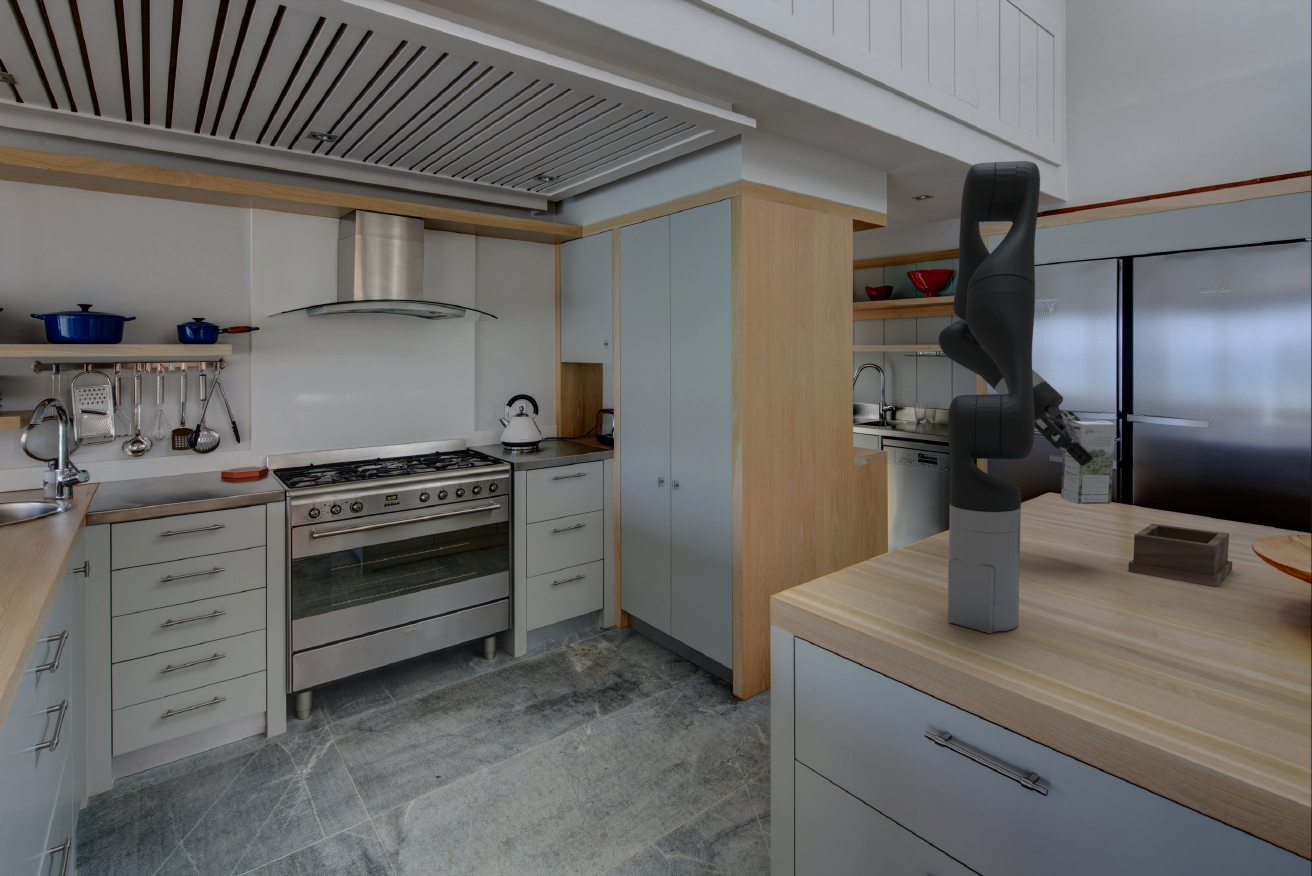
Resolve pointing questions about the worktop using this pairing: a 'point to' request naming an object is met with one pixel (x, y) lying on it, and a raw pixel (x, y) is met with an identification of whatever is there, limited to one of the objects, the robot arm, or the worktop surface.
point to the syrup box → (1090, 464)
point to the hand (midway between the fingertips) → (1096, 459)
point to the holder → (1181, 554)
